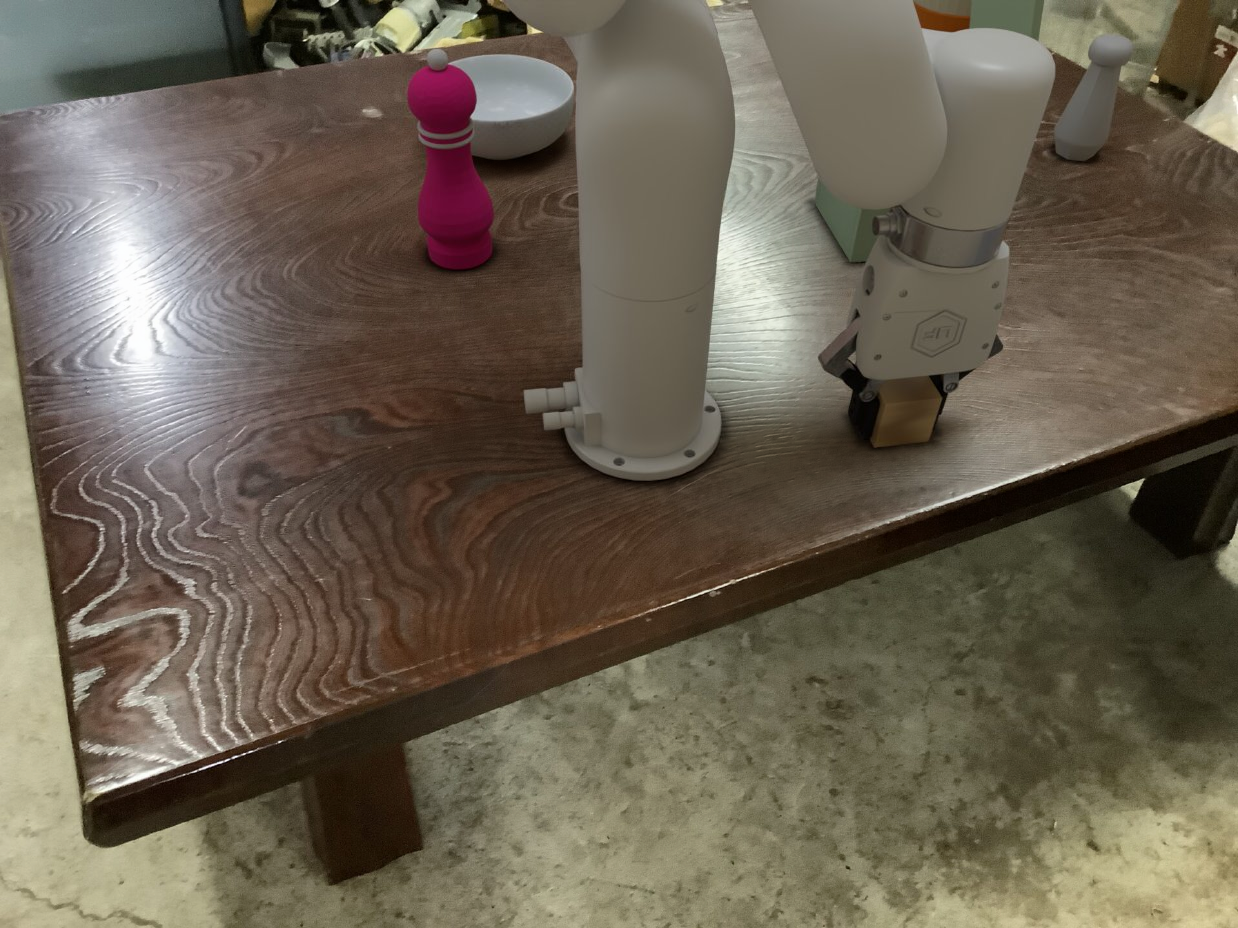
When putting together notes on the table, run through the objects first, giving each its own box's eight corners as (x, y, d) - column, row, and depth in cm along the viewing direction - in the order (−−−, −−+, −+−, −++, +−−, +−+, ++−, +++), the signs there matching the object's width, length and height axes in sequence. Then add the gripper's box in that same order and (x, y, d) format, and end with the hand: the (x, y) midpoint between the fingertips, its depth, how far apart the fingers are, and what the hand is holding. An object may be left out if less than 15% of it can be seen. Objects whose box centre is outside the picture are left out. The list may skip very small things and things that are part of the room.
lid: (1036, -3, 81) (1045, -5, 81) (976, -49, 89) (984, -51, 89) (1012, 166, 92) (1020, 164, 92) (961, 111, 100) (968, 109, 100)
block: (873, 448, 78) (885, 404, 74) (854, 409, 81) (864, 366, 78) (928, 441, 78) (942, 398, 75) (907, 404, 82) (919, 360, 78)
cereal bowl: (408, 172, 108) (398, 110, 103) (452, 106, 120) (446, 48, 115) (557, 187, 106) (555, 125, 101) (588, 119, 118) (587, 60, 113)
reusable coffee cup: (950, 103, 122) (983, -24, 111) (869, 71, 128) (893, -52, 118) (1005, 75, 128) (1042, -48, 117) (925, 46, 135) (953, -73, 124)
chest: (850, 263, 96) (867, 181, 90) (813, 203, 104) (827, 124, 98) (989, 250, 98) (1015, 169, 92) (942, 192, 106) (963, 114, 100)
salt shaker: (1103, 167, 111) (1148, 52, 101) (1050, 162, 111) (1090, 47, 102) (1096, 143, 115) (1138, 30, 106) (1045, 138, 116) (1083, 26, 106)
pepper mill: (444, 281, 93) (415, 74, 79) (411, 246, 98) (379, 44, 84) (510, 258, 96) (494, 55, 82) (476, 225, 101) (455, 26, 86)
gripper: (846, 267, 63) (805, 468, 76) (1089, 245, 65) (1009, 443, 78) (810, 207, 68) (777, 404, 81) (1036, 189, 70) (969, 383, 83)
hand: (891, 422), depth 79 cm, fingers closed on block, 4 cm apart
